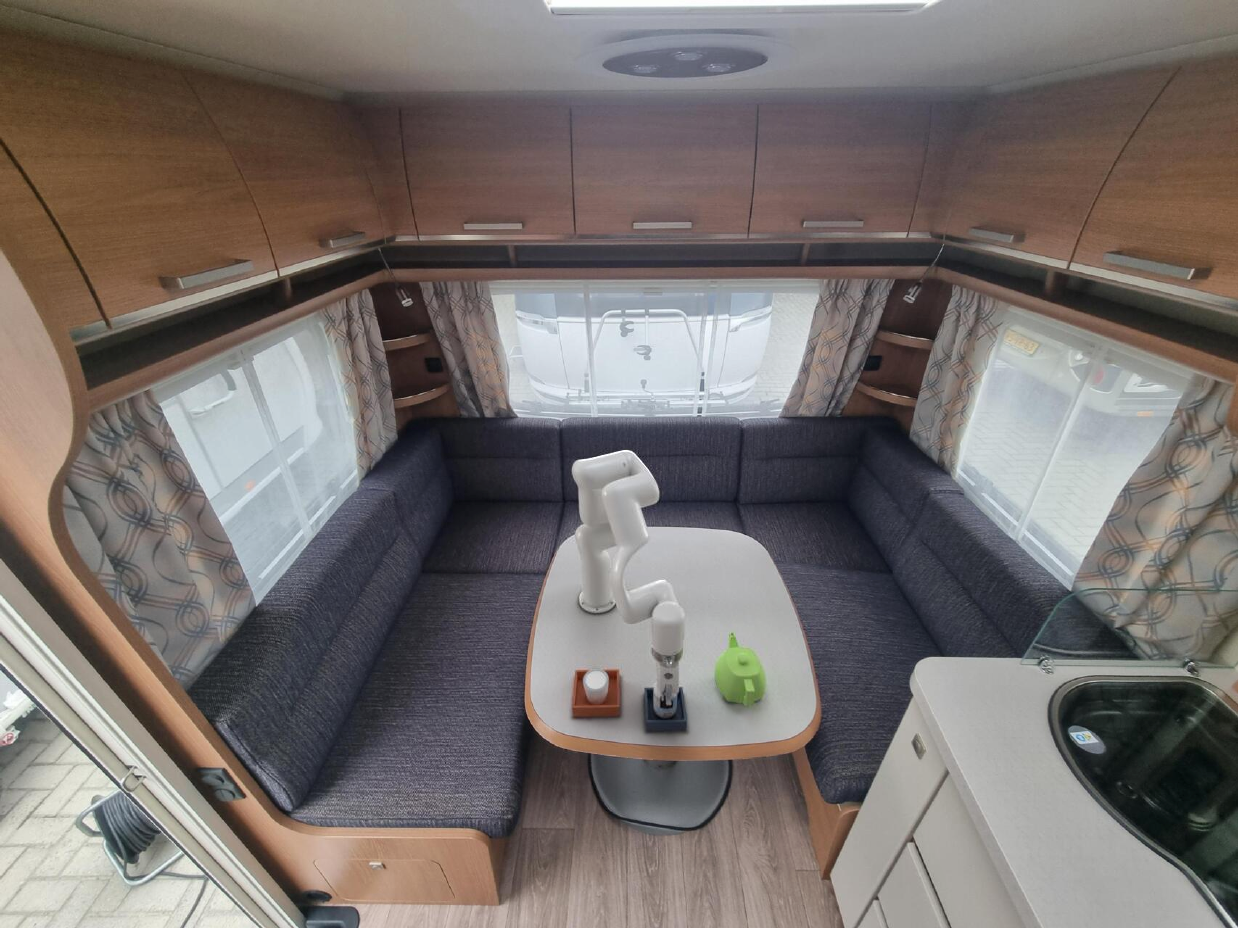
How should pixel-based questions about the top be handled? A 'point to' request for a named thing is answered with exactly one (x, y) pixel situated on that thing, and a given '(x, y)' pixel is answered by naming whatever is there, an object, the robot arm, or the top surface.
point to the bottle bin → (664, 724)
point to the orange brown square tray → (587, 709)
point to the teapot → (740, 674)
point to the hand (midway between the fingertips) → (665, 693)
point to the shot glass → (596, 686)
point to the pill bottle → (659, 711)
